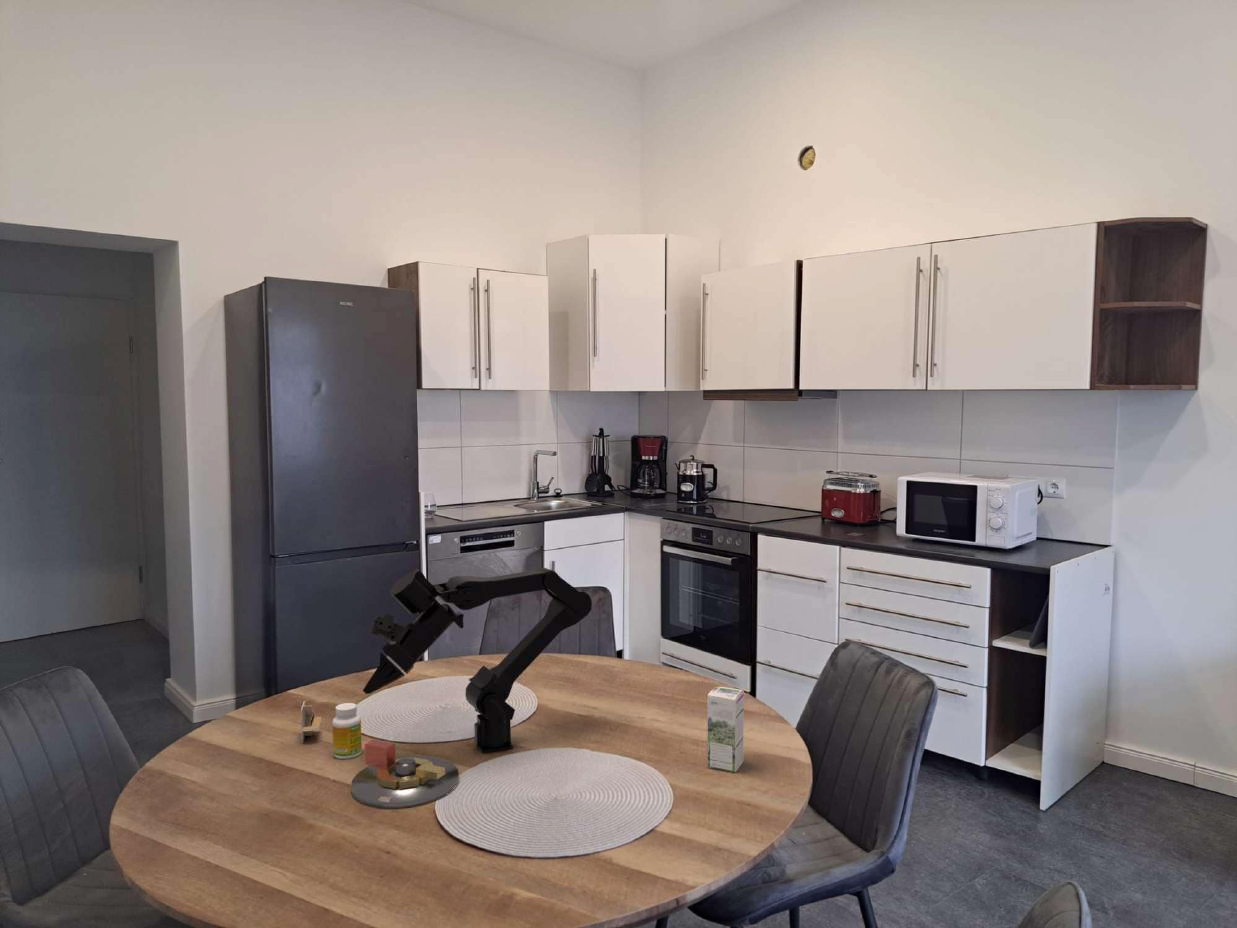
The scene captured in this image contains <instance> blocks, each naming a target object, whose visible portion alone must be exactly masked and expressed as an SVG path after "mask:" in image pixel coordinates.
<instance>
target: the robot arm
mask: <svg viewBox="0 0 1237 928" xmlns="http://www.w3.org/2000/svg"><path fill="white" fill-rule="evenodd" d="M538 591H544V592H545V593H546V594H547V595H548V597H550V598H551V600H550V602H549V604H548V606H547V609H546V613H545V615H544V616H543V617H542V618H541V619H540V620H539V621H538V622H537V624H536V625H534V626H533V628H532V629H530V631H528V633H527V634H525V636H524V637H523V638H522V639H521V640H520V641H519V642H518V643H517V644H516V645H515V646H514V647H513V649H511V651H510V652H509V653H507V655H506V656H505V657H504V658H503V659H502V661H500V663H498V664H497V665H496V666H494V667H492V668H490V669H489V668H488V667H487V666H485V665H482V666H481V667H480V668H479V670H478V671H477V673H475V675H474V676H472V677H471V678H468V681H469V683H468V684H467V685H466V688H465V694H464V695H465V699H466V701H467V703H468V704H469V705H471V706H472V707H473V709H474V711H475V712H477V713H478V714H477V715H476V722H475V723H474V726H473V729H474V743H475V746H476V747H477V748H478V749H479V751H480V752H481V753H483V754H485V753H489V752H490V753H492V752H496V751H503V750H504V751H505V750H509V749H510V750H511V749H514V745H513V743H512V738H511V736H512V732H511V731H512V730H511V729H512V728H511V724H512V723H511V721H512V720H513V718H514V715H515V711H516V709H515V708H513V706H511V705H510V704H509V703H508V702H507V700H508V698H509V696H510V695H511V691H512V688H513V685H514V683H515V682H516V680H517V679H518V678H519V677H520V676H521V675H522V674H523V673H524V672H525V671H526V670H527V669H528V667H530V666H531V664H532V663H534V661H535V660H536V659H537V658H538V657H539V656H540V655H541V654H542V653H543V652H544V651H545V650H546V649H547V648H548V646H549V645H550V644H551V643H552V642H553V641H554V640H555V639H556V638H557V637H558V635H560V633H561V632H563V631H565V630H566V629H569V628H571V627H573V626H575V625H577V624H578V623H580V622H581V621H583V619H585V618H586V617H587V616H588V615H590V613H591V612H592V610H593V609H592V608H593V607H592V606H593V605H592V604H593V602H592V597H591V596H590V595H589V594H588V592H586V591H583V590H581V589H577V588H575V587H574V586H573V585H572V584H570V583H569V582H567V581H566V580H565V579H563V578H562V577H561V576H560V575H559V574H558V573H557V572H556V571H554V570H553V569H549V568H547V567H541V568H538V569H534V570H528V571H523V572H515V573H510V574H503V575H496V576H490V577H484V576H482V577H481V576H475V575H474V576H473V575H455V576H452V577H449V578H448V580H447V581H446V582H440V583H436V584H433V583H431V582H430V581H429V580H428V579H427V578H426V576H425V574H424V573H423V572H421V570H420V569H417V568H415V569H414V570H413V571H412V572H410V573H408V574H405V576H403V577H401V578H399V579H398V580H397V581H396V582H395V583H394V585H393V586H392V587H391V589H390V595H391V596H392V597H393V598H394V599H395V600H396V601H397V602H398V603H399V604H400V605H401V606H403V608H404V609H405V610H406V611H407V612H408V613H409V614H410V615H415V614H418V616H417V617H416V619H415V620H414V621H412V622H411V623H410V622H409V623H407V624H406V626H403V625H401V624H398V623H395V616H394V615H391V614H389V613H386V614H384V616H382V617H381V616H380V615H376V617H375V619H374V621H373V623H372V624H371V627H370V629H369V632H370V633H371V634H373V635H376V636H380V637H384V638H386V639H387V640H390V641H388V642H387V643H386V644H385V645H384V646H383V647H382V648H381V651H379V664H378V666H377V668H376V669H375V671H374V673H373V674H372V675H371V677H370V678H369V680H368V681H367V683H366V685H365V686H364V688H363V689H362V692H363V693H364V694H366V695H368V694H369V695H370V694H372V693H374V692H377V691H378V690H380V689H382V688H384V687H385V686H388V685H390V684H392V683H394V682H395V681H397V680H399V679H402V678H403V677H406V674H407V675H408V674H409V673H410V672H411V671H412V669H414V667H415V666H414V665H415V664H416V663H417V662H418V660H420V658H421V657H422V656H424V654H425V653H426V652H427V651H428V650H430V648H431V647H432V646H433V645H434V644H435V643H436V642H437V640H439V638H441V637H442V636H443V634H445V632H446V631H447V630H448V629H449V628H450V627H451V626H452V625H453V624H454V625H455V626H456V627H458V628H459V629H463V628H464V626H465V625H464V617H465V615H464V613H462V612H460V611H461V610H462V611H470V610H473V609H476V608H478V607H480V606H483V605H485V604H487V603H488V602H490V601H493V600H494V599H497V598H498V599H499V598H503V597H504V598H505V597H509V596H515V595H521V594H526V593H532V592H533V593H534V592H538ZM436 598H438V599H439V600H442V601H443V602H446V603H442V604H441V603H440V602H439V601H438V600H437V599H436ZM448 603H449V604H451V605H453V606H454V607H456V608H457V609H460V611H457V612H456V611H455V610H454V609H453V608H452V607H451V606H450V605H449V604H448ZM383 653H384V654H383ZM402 671H403V672H402Z"/></svg>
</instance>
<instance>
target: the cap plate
mask: <svg viewBox="0 0 1237 928" xmlns="http://www.w3.org/2000/svg"><path fill="white" fill-rule="evenodd" d="M404 758H407V759H404ZM409 758H412V759H409ZM413 758H420V759H425V760H430V762H432V764H433V765H434V766H439V767H444V768H445V774H444V775H443V776H442V777H440V778H439V779H432V778H431V779H430V780H428V781H427V782H426V783H424V784H423V785H422V784H419V786H415V787H409V788H403V789H399V787H398V788H397V789H393V788H389V787H384V786H380V784H378V781H377V777H376V770H377V769H378V768H379V767H374V766H369V765H368V766H367V767H364V768H363V769H362V770H360V771H359V772H358V773H356V775H355V776H354V777H353V779H352V781H351V786H350V788H351V795H352V797H353V798H354V800H356V801H357V802H359V803H360V804H362V805H365V806H368V807H372V808H378V809H386V810H387V809H390V810H391V809H392V810H393V809H394V810H395V809H407V808H414V807H419V806H422V805H425V804H430V803H433V802H435V801H437V799H438V800H440V799H442V798H444V797H445V796H444V795H446V794H447V793H449V792H450V791H451V790H452V791H454V789H455V788H456V787H457V786H456V785H458V783H459V781H458V780H459V769H458V768H457V766H456V765H455V764H454V763H453V762H451V761H449V760H447V759H444V758H441V757H436V756H429V755H411V756H410V755H409V756H407V755H406V756H399V757H395V760H398V759H401V760H398V761H397V762H396V763H395V772H393V773H392V774H390V775H392V776H397V777H406V776H412V775H416V762H415V760H414V759H413ZM455 786H456V787H455ZM454 787H455V788H454ZM453 788H454V789H453ZM452 791H451V792H452ZM451 792H450V793H451ZM450 793H449V794H450ZM447 795H448V794H447ZM447 795H446V796H447ZM443 796H444V797H443ZM441 797H442V798H441ZM439 798H440V799H439Z"/></svg>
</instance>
